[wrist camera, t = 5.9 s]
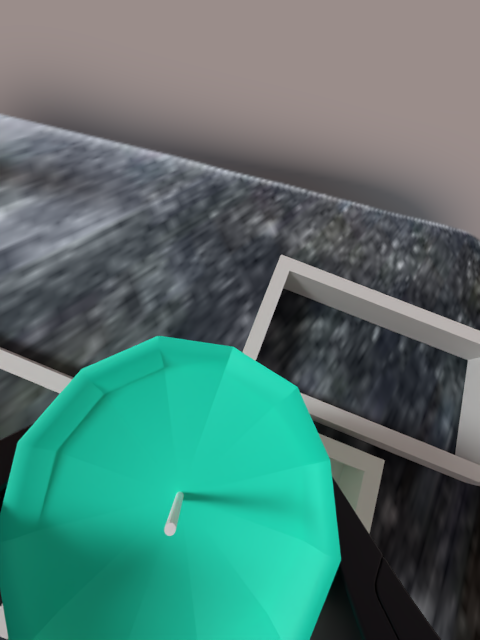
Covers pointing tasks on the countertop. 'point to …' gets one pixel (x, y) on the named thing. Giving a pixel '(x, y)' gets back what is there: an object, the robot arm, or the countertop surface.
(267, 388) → the candle
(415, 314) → the grey rectangular frame
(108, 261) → the countertop surface
